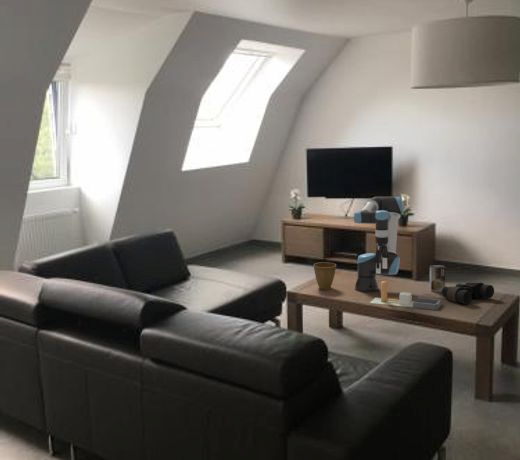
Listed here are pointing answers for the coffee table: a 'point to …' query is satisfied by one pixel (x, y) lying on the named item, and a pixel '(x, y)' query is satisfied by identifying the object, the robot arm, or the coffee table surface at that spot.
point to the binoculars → (467, 292)
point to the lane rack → (413, 303)
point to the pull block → (403, 299)
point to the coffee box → (437, 278)
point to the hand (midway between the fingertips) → (381, 270)
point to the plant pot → (324, 274)
